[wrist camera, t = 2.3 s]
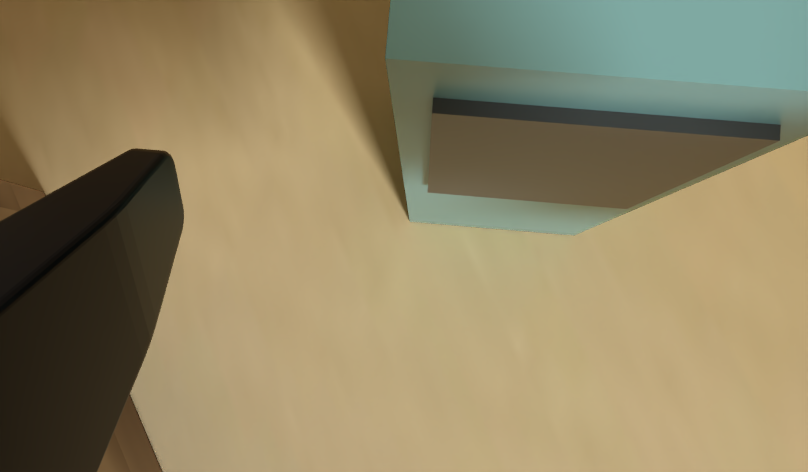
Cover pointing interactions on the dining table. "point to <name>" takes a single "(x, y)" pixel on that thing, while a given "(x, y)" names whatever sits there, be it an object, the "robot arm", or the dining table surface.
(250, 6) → the dining table surface
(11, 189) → the brown wooden stand
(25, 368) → the robot arm
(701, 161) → the finger block
